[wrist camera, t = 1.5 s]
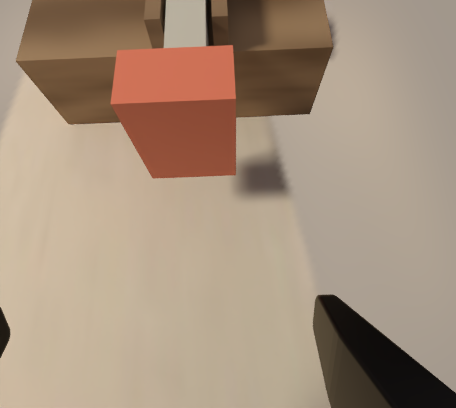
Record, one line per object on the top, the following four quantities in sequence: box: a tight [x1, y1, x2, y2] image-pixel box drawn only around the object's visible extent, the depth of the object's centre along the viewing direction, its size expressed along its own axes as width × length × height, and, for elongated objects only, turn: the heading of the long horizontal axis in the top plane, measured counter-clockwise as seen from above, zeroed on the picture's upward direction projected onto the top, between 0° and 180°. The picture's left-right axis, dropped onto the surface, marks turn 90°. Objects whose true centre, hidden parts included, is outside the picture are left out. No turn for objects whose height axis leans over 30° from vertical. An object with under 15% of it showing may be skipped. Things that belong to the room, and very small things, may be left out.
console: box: [16, 0, 333, 124], centre depth 21 cm, size 8×18×8 cm, turn 92°
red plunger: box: [111, 0, 236, 178], centre depth 16 cm, size 13×4×6 cm, turn 2°
